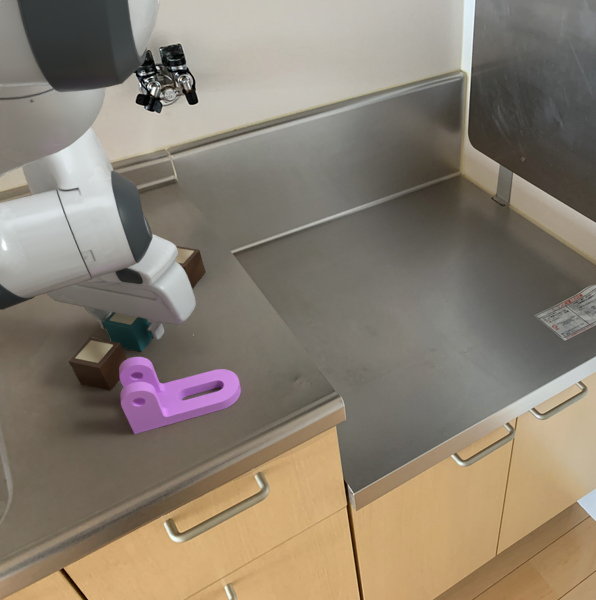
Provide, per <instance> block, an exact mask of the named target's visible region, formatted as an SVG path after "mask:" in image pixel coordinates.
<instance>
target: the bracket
mask: <svg viewBox="0 0 596 600" xmlns="http://www.w3.org/2000/svg"><path fill="white" fill-rule="evenodd" d="M119 376H120V380H119V381H120V383H121V385H122V387H123V388H122V389H121V391H120V406H121V408H122V411H123V413H124V415H125V417H126V419H127V421H128V423H129V426H130V428H131V429H132V432H133V434H134V435H137V434H141V433H144V432H148V431H152V430H155V429H158V428H162V427H165V426H170V425H172V424H176V423H179V422H183V421H186V420H190V419H193V418H198V417H202V416H204V415H208V414H211V413H216V412H219V411H222V410H225V409H227V408H229V407H231V406H232V405H234V404H235V403H236V402H237V401H238V399H240V397H241V392H242V387H241V383H240V379H239V377H238V375H237V374H236V373H235V372H233V371H231V370H229V369H225V368H219V369H213V370H209V371H205V372H202V373H197V374H194V375H190V376H186V377H182V378H179V379H175V380H172V381H168V382H163V383H162V382H160V380H159V378H158V375H157V372H156V370H155V367H154V365H153V362H152V361H151V360H150V359H148V358H146V357H144V356H133V357H129V358H127V360H125V361H123V362H122V363H121V365H120V367H119ZM220 388H221V389H220ZM215 389H220V390H216V391H214V392H210V393H206V394H203V395H199V396H195V397H192V398H188V399H185V398H186V397H190V396H193V395H197V394H200V393H204V392H208V391H212V390H215Z"/></svg>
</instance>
